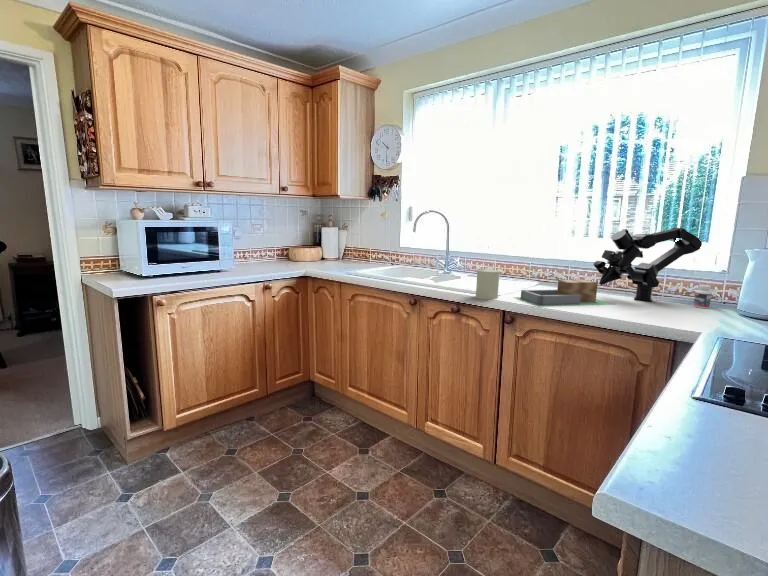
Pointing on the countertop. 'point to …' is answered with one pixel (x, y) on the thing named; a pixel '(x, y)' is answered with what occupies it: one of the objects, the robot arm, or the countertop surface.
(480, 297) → the can
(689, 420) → the countertop surface
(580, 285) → the walnut block
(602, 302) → the mat
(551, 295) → the grey tray
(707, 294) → the pill bottle
